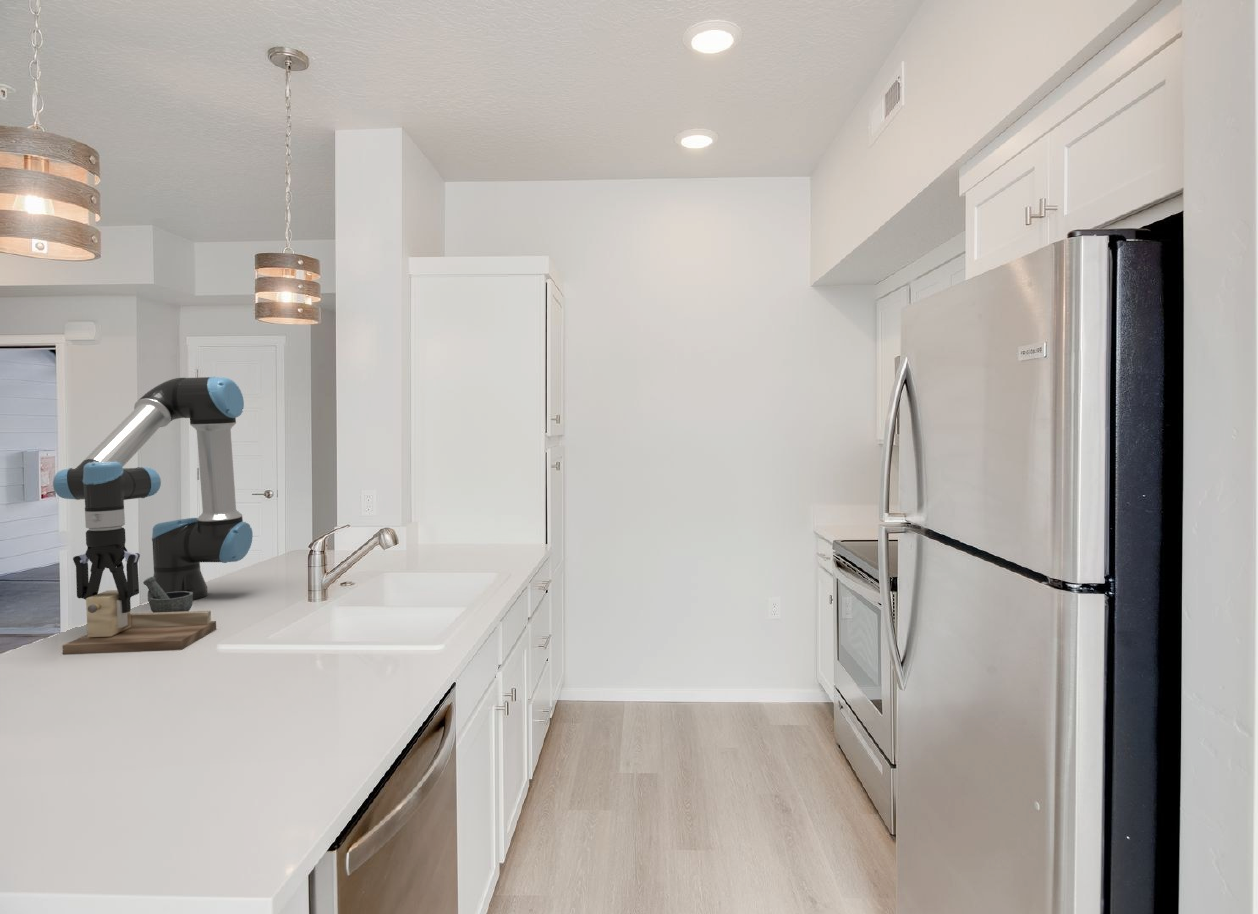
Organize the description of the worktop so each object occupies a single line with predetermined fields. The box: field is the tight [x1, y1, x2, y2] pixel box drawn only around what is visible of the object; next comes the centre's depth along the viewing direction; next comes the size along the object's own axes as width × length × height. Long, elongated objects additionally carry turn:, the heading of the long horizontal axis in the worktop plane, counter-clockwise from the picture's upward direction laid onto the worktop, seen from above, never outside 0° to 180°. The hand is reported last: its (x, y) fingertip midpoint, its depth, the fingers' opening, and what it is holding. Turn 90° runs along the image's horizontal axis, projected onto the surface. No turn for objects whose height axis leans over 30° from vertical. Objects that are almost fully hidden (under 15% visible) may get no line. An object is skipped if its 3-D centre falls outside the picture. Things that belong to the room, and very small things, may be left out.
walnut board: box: [62, 610, 217, 655], centre depth 173 cm, size 17×25×5 cm
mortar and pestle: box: [142, 576, 194, 613], centre depth 190 cm, size 11×9×12 cm
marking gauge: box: [85, 589, 132, 637], centre depth 172 cm, size 12×5×9 cm, turn 5°
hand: (109, 626), depth 172 cm, fingers closed on marking gauge, 5 cm apart
